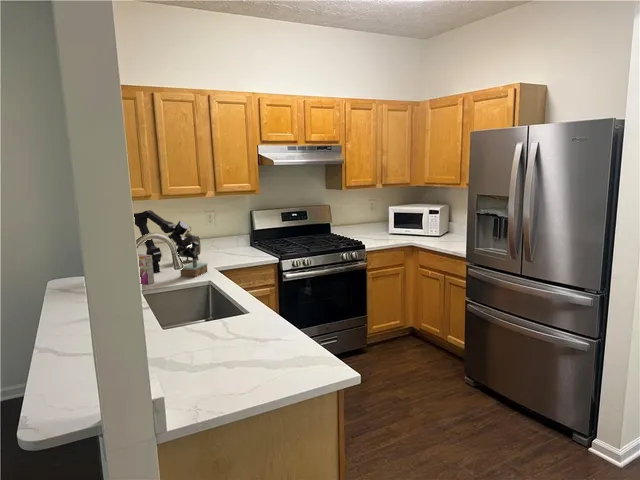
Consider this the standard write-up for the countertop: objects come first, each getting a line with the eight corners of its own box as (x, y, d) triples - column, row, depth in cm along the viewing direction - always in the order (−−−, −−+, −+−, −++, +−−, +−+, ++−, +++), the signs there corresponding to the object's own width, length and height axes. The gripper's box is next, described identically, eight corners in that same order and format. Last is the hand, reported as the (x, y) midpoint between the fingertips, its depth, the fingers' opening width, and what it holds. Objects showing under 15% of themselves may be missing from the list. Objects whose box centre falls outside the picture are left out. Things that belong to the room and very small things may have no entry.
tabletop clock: (188, 263, 299) (185, 227, 295) (177, 263, 302) (175, 227, 298) (201, 259, 312) (199, 225, 308) (191, 258, 315) (188, 224, 311)
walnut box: (195, 277, 260) (194, 270, 259) (180, 276, 263) (180, 269, 262) (207, 272, 273) (207, 265, 272) (193, 271, 276) (192, 264, 275)
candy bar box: (133, 283, 250) (131, 255, 247) (140, 281, 254) (138, 253, 252) (148, 284, 245) (145, 256, 243) (154, 282, 250) (152, 254, 247)
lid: (195, 270, 259) (193, 253, 257) (179, 269, 262) (178, 252, 260) (207, 264, 273) (206, 248, 271) (192, 264, 275) (191, 248, 274)
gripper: (177, 232, 251) (195, 252, 250) (195, 228, 269) (212, 246, 268) (167, 245, 255) (184, 265, 254) (185, 240, 273) (201, 258, 271)
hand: (196, 258), depth 262 cm, fingers closed on lid, 2 cm apart
